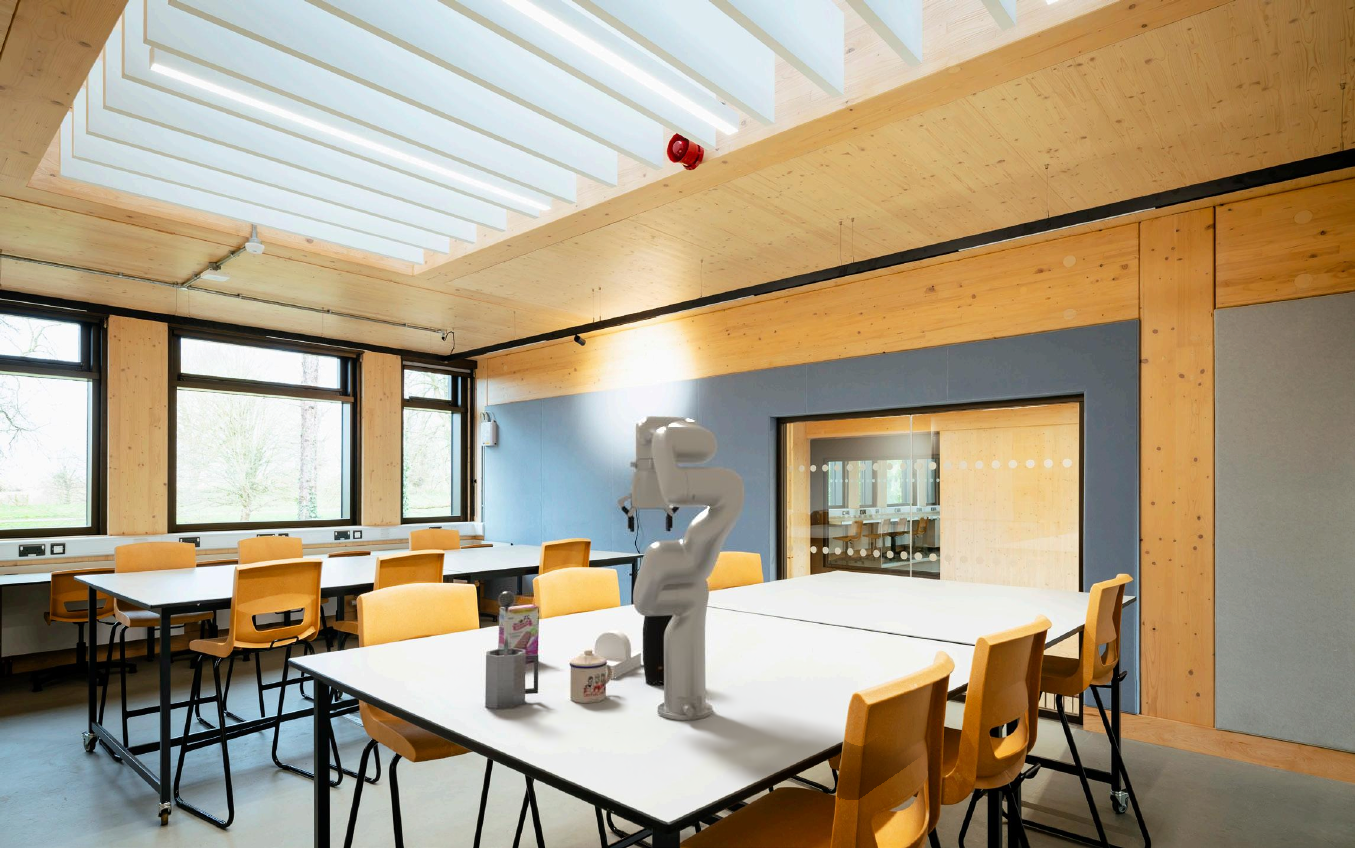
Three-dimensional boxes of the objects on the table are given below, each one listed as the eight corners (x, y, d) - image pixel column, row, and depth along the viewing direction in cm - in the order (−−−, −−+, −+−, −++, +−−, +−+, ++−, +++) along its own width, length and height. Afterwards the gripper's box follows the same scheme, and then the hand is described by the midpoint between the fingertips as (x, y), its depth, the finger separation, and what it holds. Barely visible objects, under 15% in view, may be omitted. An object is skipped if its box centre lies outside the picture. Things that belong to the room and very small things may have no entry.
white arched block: (613, 679, 201) (613, 638, 202) (581, 676, 205) (582, 635, 206) (641, 665, 218) (641, 626, 219) (612, 662, 221) (611, 624, 222)
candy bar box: (505, 667, 215) (506, 609, 217) (497, 664, 219) (498, 607, 221) (539, 661, 223) (539, 605, 224) (531, 658, 226) (531, 603, 228)
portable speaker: (670, 687, 192) (669, 610, 193) (637, 684, 195) (636, 608, 197) (682, 679, 200) (681, 605, 201) (650, 676, 203) (649, 604, 205)
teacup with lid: (585, 706, 176) (585, 655, 177) (561, 699, 182) (562, 650, 183) (623, 696, 184) (623, 647, 185) (599, 689, 191) (599, 642, 192)
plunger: (518, 661, 177) (519, 592, 179) (492, 663, 176) (493, 593, 177) (518, 656, 183) (519, 589, 184) (493, 657, 181) (494, 590, 183)
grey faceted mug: (538, 706, 176) (539, 654, 177) (484, 710, 173) (485, 657, 174) (536, 696, 185) (537, 646, 186) (485, 699, 182) (486, 649, 183)
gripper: (619, 465, 192) (619, 532, 190) (684, 465, 196) (685, 531, 194) (615, 466, 199) (615, 531, 198) (678, 466, 203) (679, 530, 201)
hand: (650, 531), depth 196 cm, fingers open, 9 cm apart
